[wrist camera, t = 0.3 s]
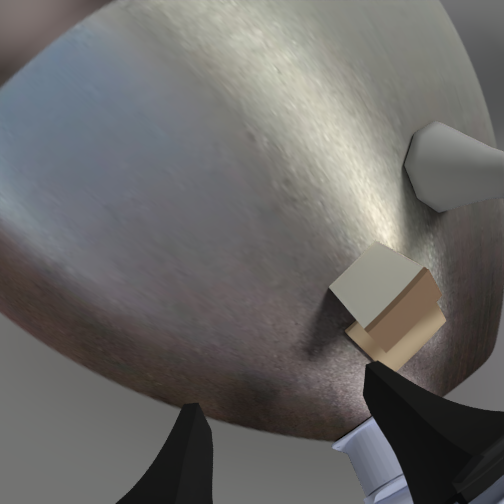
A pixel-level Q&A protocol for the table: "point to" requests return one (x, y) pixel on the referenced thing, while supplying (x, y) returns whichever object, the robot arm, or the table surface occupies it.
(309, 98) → the table surface
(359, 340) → the cork mat
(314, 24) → the table surface
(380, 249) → the cream slab
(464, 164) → the flask
